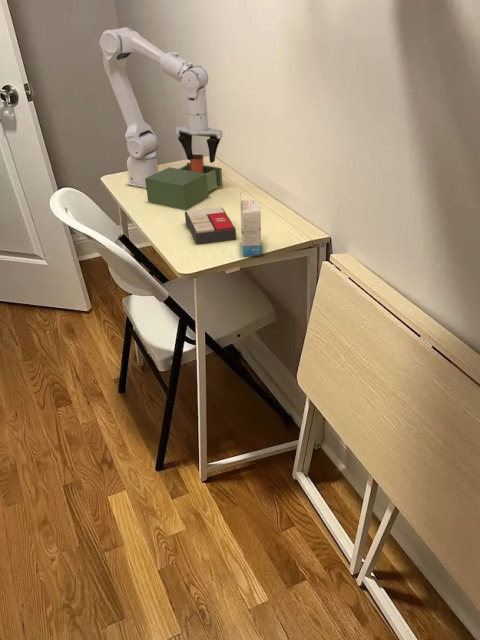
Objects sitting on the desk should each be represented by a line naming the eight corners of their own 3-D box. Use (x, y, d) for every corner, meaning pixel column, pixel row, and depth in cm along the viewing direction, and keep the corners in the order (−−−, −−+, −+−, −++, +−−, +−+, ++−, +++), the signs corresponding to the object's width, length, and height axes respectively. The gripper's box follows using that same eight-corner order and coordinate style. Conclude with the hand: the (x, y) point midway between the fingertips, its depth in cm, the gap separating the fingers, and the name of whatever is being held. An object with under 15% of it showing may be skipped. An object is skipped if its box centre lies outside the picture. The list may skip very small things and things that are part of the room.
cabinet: (172, 190, 184) (169, 167, 179) (208, 197, 179) (206, 173, 174) (148, 202, 175) (144, 178, 170) (185, 210, 170) (183, 185, 166)
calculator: (195, 231, 148) (184, 208, 159) (196, 246, 151) (185, 223, 161) (236, 226, 151) (222, 204, 161) (236, 241, 153) (223, 219, 164)
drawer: (196, 176, 193) (195, 159, 189) (228, 182, 188) (227, 164, 185) (169, 189, 182) (167, 171, 178) (203, 196, 177) (201, 177, 174)
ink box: (261, 256, 145) (260, 199, 136) (242, 257, 144) (240, 199, 135) (260, 242, 152) (259, 187, 143) (241, 243, 151) (239, 187, 142)
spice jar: (187, 182, 182) (186, 154, 179) (195, 181, 186) (194, 153, 182) (199, 183, 180) (198, 154, 177) (207, 182, 184) (206, 154, 181)
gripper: (169, 114, 167) (174, 161, 175) (214, 118, 164) (217, 166, 172) (180, 109, 172) (184, 155, 181) (224, 113, 169) (226, 160, 177)
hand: (201, 160), depth 177 cm, fingers open, 7 cm apart
